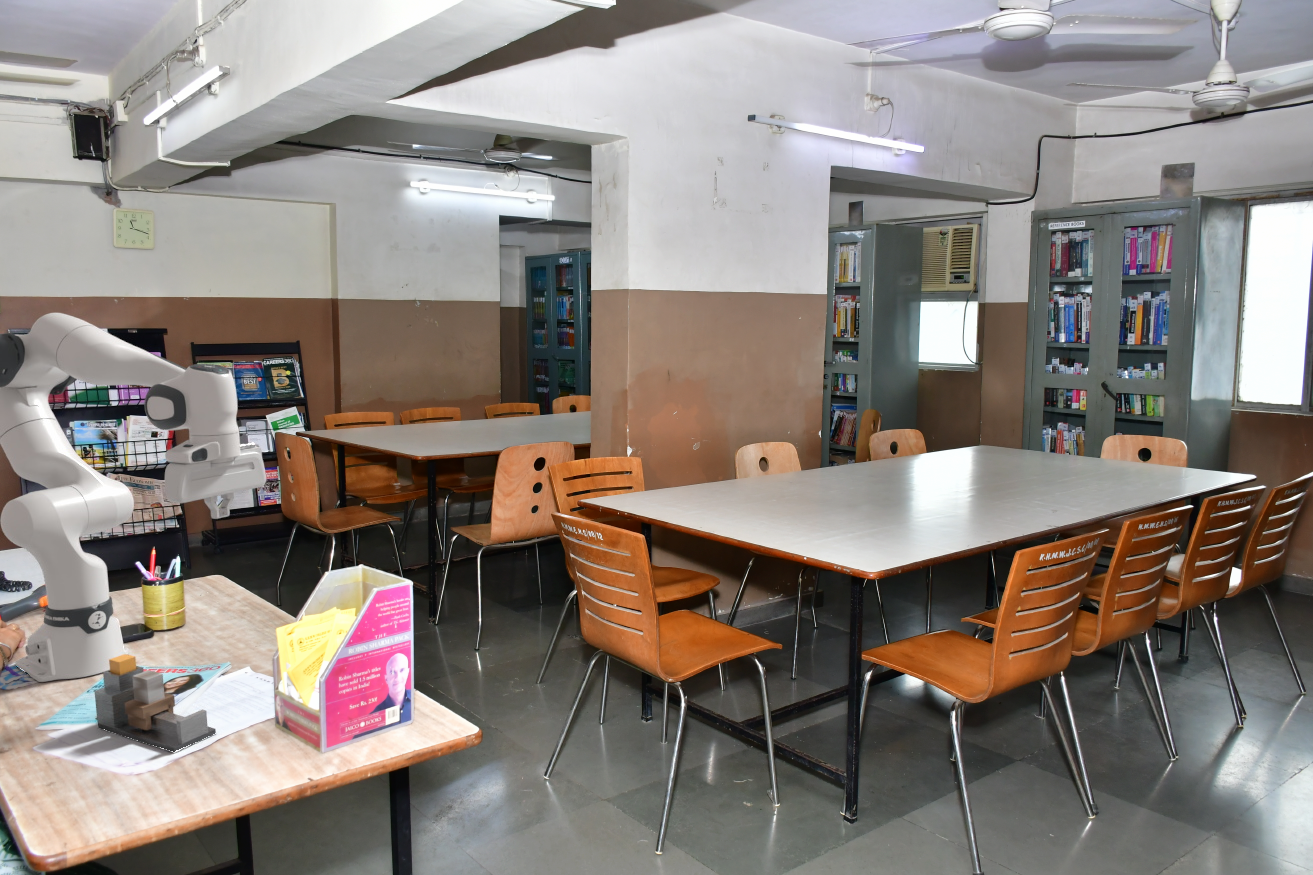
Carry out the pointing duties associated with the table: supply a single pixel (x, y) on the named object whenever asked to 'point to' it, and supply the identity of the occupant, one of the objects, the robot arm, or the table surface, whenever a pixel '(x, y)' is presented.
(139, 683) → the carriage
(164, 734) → the grey stepped block fixture
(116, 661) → the orange block
